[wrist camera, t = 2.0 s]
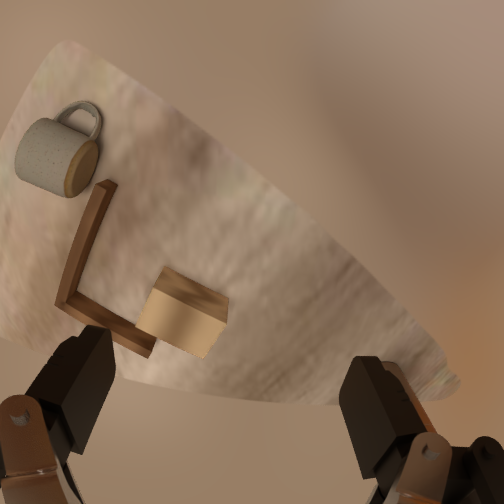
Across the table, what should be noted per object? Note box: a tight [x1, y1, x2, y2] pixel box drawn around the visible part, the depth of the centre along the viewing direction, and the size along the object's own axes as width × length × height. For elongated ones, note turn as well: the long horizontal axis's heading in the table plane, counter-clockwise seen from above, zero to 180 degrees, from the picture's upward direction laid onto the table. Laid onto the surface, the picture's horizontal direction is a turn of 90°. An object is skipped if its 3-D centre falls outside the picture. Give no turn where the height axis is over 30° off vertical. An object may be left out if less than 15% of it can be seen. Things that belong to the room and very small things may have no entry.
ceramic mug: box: [15, 101, 101, 198], centre depth 28 cm, size 11×8×8 cm
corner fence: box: [55, 179, 157, 359], centre depth 36 cm, size 15×18×4 cm
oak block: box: [135, 266, 228, 359], centre depth 37 cm, size 9×6×6 cm, turn 60°
